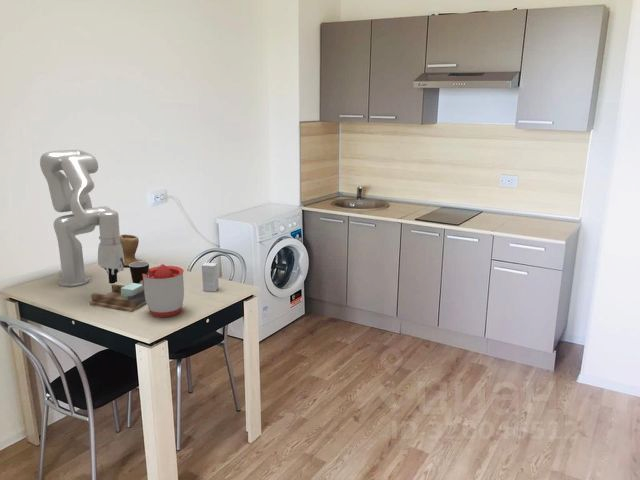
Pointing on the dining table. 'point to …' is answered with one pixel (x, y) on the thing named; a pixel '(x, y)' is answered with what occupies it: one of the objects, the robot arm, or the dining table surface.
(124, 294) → the block
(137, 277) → the coffee mug
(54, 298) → the dining table surface
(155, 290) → the citrus juicer
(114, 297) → the rail board
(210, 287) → the skincare box
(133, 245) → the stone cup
